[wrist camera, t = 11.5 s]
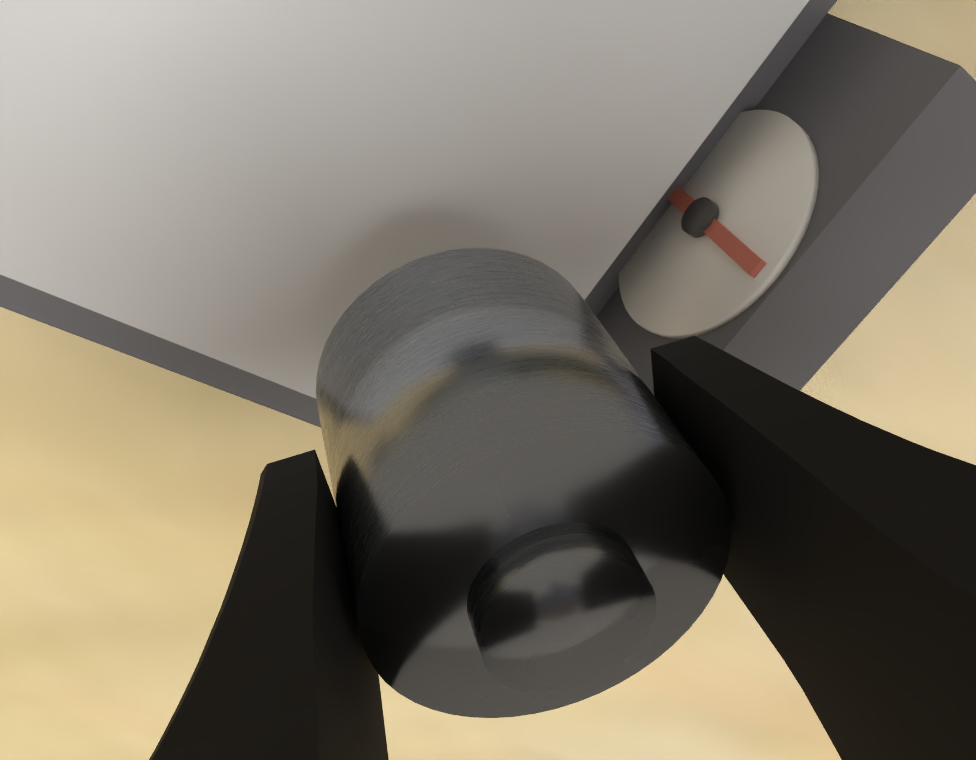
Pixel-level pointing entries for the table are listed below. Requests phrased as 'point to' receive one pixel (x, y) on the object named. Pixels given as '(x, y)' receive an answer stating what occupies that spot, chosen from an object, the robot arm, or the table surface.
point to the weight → (508, 490)
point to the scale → (464, 169)
